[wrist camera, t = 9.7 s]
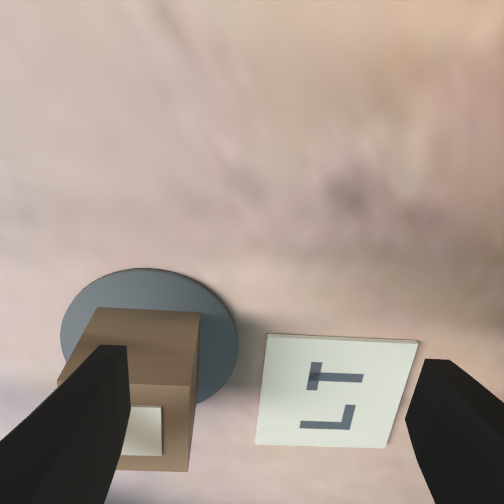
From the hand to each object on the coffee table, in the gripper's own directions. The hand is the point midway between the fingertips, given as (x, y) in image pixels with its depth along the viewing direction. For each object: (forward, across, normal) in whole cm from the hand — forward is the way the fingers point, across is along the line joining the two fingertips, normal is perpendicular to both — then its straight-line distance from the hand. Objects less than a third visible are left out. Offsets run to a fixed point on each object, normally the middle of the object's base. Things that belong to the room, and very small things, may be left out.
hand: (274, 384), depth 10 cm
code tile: (+10, -5, +10) cm, 15 cm away
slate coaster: (+10, +5, +7) cm, 13 cm away
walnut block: (+10, +5, +7) cm, 13 cm away
